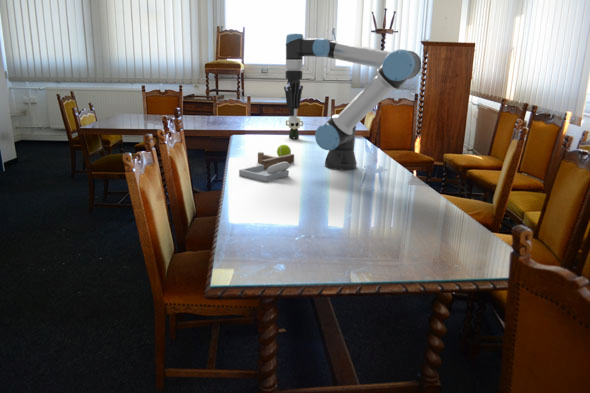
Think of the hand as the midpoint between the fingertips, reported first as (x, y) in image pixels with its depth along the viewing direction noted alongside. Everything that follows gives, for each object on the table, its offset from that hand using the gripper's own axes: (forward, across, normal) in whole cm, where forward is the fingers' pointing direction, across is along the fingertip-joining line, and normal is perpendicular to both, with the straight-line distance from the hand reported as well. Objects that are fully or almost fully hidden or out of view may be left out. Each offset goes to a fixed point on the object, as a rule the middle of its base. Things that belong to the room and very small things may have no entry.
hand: (293, 123), depth 221 cm
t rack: (+20, +4, -11) cm, 23 cm away
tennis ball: (+20, -12, -12) cm, 26 cm away
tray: (+20, +24, +1) cm, 32 cm away
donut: (+18, +19, +3) cm, 26 cm away
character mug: (+20, -66, -40) cm, 80 cm away
